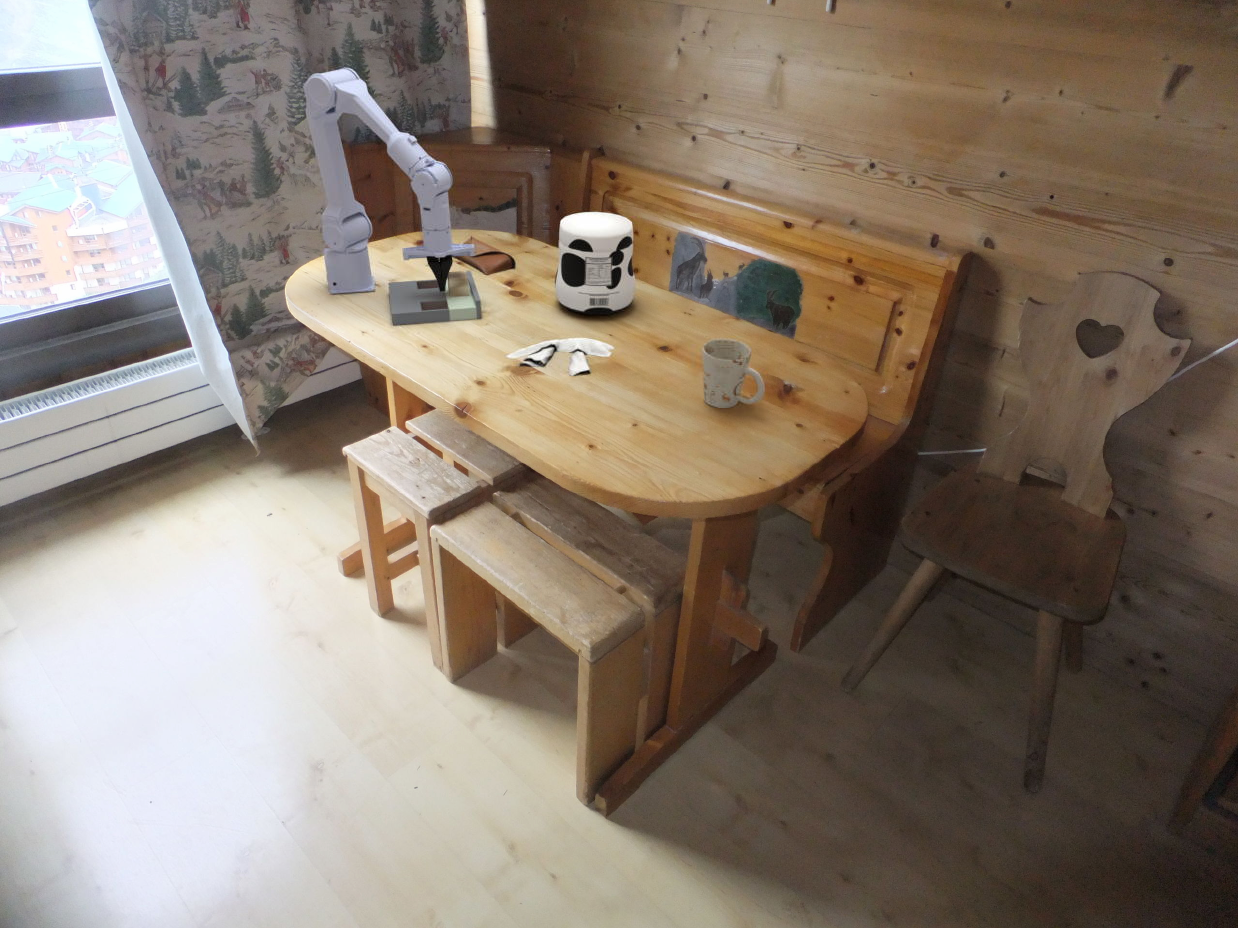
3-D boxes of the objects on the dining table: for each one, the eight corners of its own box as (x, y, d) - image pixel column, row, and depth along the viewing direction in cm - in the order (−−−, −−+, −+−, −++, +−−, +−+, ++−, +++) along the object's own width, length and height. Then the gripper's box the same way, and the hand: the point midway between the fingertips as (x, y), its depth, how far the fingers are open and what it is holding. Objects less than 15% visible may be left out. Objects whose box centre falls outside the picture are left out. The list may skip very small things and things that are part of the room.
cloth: (625, 346, 161) (625, 335, 160) (593, 397, 144) (594, 386, 143) (529, 331, 165) (529, 320, 164) (487, 380, 148) (486, 368, 147)
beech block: (450, 297, 171) (448, 279, 168) (448, 289, 174) (446, 272, 172) (469, 295, 172) (468, 277, 169) (467, 288, 175) (465, 271, 173)
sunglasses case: (444, 254, 198) (454, 228, 197) (466, 263, 204) (476, 238, 203) (487, 276, 188) (498, 249, 186) (509, 284, 193) (519, 258, 192)
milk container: (596, 283, 186) (597, 205, 176) (650, 306, 177) (655, 225, 166) (538, 303, 176) (537, 221, 166) (593, 328, 166) (594, 243, 156)
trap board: (393, 325, 164) (390, 307, 162) (389, 293, 177) (387, 276, 175) (481, 318, 168) (480, 300, 166) (471, 287, 182) (470, 270, 180)
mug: (714, 384, 148) (720, 334, 143) (773, 407, 142) (782, 356, 136) (688, 400, 143) (693, 349, 137) (748, 425, 136) (756, 373, 131)
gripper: (400, 235, 159) (408, 299, 167) (474, 231, 162) (479, 294, 170) (399, 223, 164) (406, 286, 172) (470, 220, 168) (474, 282, 176)
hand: (442, 289), depth 171 cm, fingers closed
